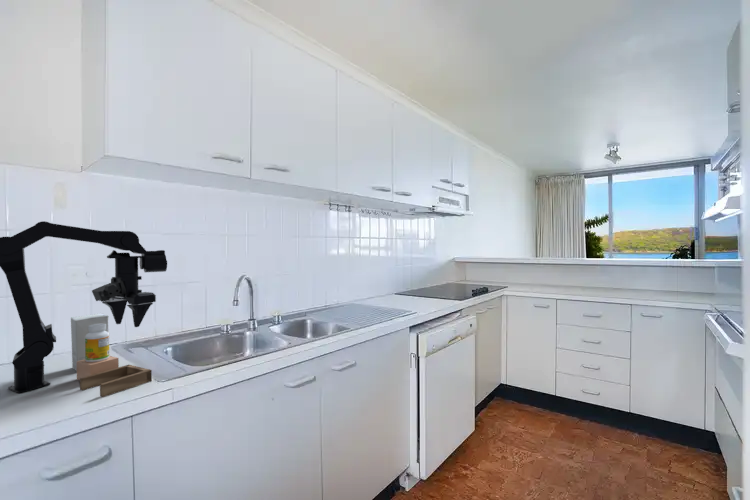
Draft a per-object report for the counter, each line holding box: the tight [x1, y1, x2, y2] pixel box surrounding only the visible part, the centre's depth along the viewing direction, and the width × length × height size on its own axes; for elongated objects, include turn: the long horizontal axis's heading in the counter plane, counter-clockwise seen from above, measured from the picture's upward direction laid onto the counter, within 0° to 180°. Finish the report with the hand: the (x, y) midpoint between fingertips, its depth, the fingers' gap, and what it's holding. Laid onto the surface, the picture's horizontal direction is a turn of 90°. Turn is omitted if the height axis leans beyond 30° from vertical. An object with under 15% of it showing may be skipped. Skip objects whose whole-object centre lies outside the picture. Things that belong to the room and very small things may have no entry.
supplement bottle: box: [85, 324, 110, 362], centre depth 103 cm, size 5×5×10 cm
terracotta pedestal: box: [76, 355, 120, 381], centre depth 103 cm, size 7×7×5 cm
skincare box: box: [70, 312, 110, 372], centre depth 112 cm, size 8×7×16 cm
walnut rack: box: [79, 364, 153, 398], centre depth 98 cm, size 10×12×3 cm
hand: (127, 325), depth 110 cm, fingers open, 9 cm apart
